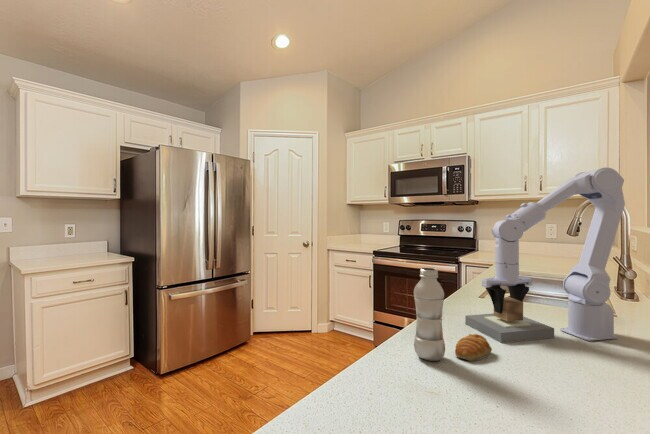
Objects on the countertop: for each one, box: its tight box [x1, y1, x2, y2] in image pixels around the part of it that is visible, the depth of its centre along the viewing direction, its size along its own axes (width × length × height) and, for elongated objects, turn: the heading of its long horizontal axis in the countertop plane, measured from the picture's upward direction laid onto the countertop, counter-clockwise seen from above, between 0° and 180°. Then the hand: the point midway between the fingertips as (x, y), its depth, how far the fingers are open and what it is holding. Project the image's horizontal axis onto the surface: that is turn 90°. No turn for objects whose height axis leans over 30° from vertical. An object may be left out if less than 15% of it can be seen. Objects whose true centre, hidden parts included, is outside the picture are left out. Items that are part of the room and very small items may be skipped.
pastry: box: [454, 333, 493, 362], centre depth 72 cm, size 9×7×4 cm
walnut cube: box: [493, 296, 524, 322], centre depth 86 cm, size 5×5×5 cm
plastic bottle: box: [413, 267, 446, 362], centre depth 70 cm, size 6×7×20 cm
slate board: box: [464, 312, 555, 344], centre depth 86 cm, size 16×14×3 cm
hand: (507, 311), depth 86 cm, fingers closed on walnut cube, 5 cm apart
